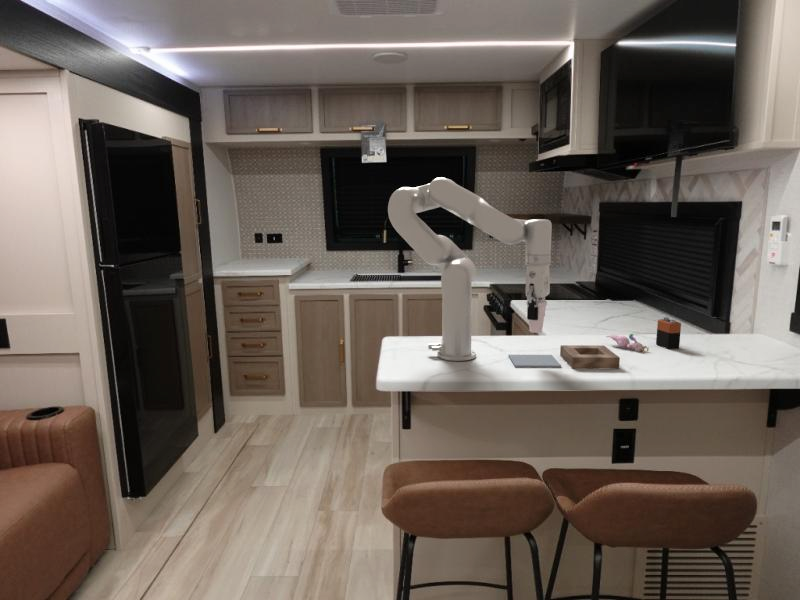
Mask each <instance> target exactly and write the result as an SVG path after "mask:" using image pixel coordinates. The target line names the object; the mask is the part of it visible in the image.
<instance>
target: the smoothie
mask: <svg viewBox="0 0 800 600" xmlns="http://www.w3.org/2000/svg"><path fill="white" fill-rule="evenodd" d="M538 299H539V298H538ZM534 302H535V299H534ZM525 304H526V305H527V304H528V302H527V300H526V302H525ZM547 306H548V300H546V299H545V300H538V304H537V307H538V320H528V325H529V326H528V327H529V332H530V333H532V334H533V333H534V334H538V333H539V334H540V333H542V332H543V327H544V326H543V325H544V321H545V316H546V309H547ZM544 315H545V316H544Z"/></svg>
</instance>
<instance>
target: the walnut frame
mask: <svg viewBox="0 0 800 600" xmlns="http://www.w3.org/2000/svg"><path fill="white" fill-rule="evenodd" d="M559 353H560V354H559V356H560V357H561V358H562V359H563V361H564V362H567V363H566V364H567V365H568V366H569V367H570V368H571V369H572V370H573V369H575V370H577V369H578V368H580V369H581V368H589V369H590V368H591V370H592V369H593V368H619V369H620V362H621V360H620V358H621V357H620V356H618V355H617V353H616V354H615V353H614V352H613V351H612V350H611V349H609V348H608V347H606V346H605V345H598V344H597V345H582V344H580V345H579V344H578V345H575V344H574V345H572V344H571V345H570V344H569V345H567V344H566V345H565V344H564V345H560V352H559ZM581 370H582V369H581Z"/></svg>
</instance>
